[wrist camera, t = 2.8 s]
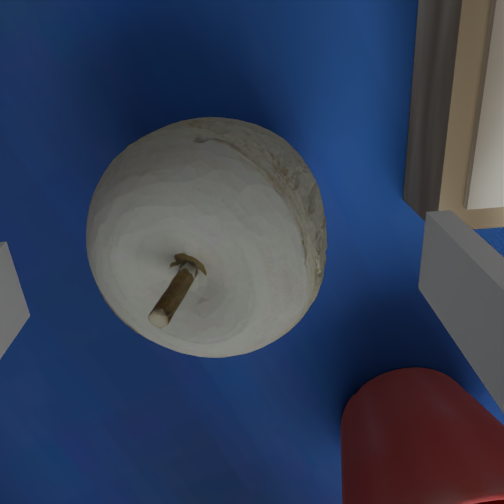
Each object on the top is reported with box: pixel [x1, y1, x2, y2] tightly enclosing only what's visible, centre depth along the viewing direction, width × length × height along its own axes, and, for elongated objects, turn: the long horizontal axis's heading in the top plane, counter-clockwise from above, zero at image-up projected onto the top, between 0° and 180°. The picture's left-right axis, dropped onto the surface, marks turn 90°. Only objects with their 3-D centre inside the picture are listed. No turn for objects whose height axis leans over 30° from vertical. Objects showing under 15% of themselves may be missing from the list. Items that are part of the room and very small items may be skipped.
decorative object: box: [86, 117, 327, 358], centre depth 18 cm, size 9×9×10 cm
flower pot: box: [341, 367, 504, 504], centre depth 25 cm, size 11×11×10 cm
